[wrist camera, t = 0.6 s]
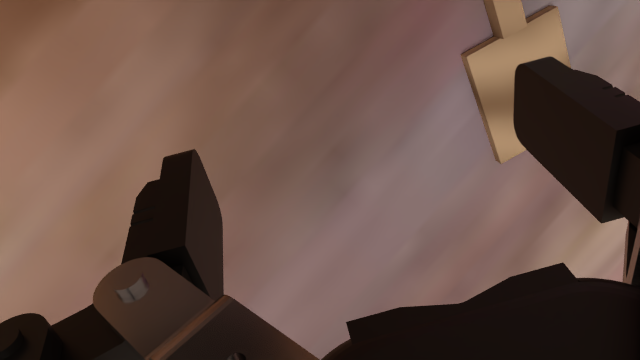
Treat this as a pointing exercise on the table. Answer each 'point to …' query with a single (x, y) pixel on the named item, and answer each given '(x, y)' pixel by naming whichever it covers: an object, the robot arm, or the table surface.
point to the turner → (509, 65)
